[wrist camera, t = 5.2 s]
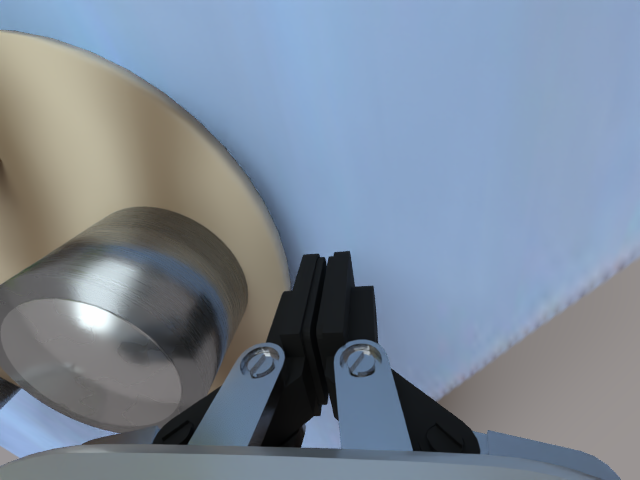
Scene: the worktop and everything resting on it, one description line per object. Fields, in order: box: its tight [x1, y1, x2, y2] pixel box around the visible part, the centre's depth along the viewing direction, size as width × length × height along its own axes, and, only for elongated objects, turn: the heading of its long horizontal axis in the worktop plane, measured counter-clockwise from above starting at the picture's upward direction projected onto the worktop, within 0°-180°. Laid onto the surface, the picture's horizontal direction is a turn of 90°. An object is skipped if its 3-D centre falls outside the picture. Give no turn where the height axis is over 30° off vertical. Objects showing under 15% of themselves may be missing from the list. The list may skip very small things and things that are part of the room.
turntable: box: [0, 30, 291, 395], centre depth 14 cm, size 20×20×6 cm
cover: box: [0, 206, 248, 433], centre depth 12 cm, size 7×7×5 cm
